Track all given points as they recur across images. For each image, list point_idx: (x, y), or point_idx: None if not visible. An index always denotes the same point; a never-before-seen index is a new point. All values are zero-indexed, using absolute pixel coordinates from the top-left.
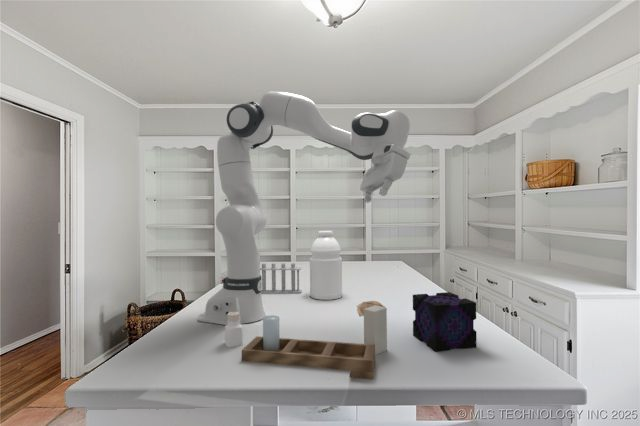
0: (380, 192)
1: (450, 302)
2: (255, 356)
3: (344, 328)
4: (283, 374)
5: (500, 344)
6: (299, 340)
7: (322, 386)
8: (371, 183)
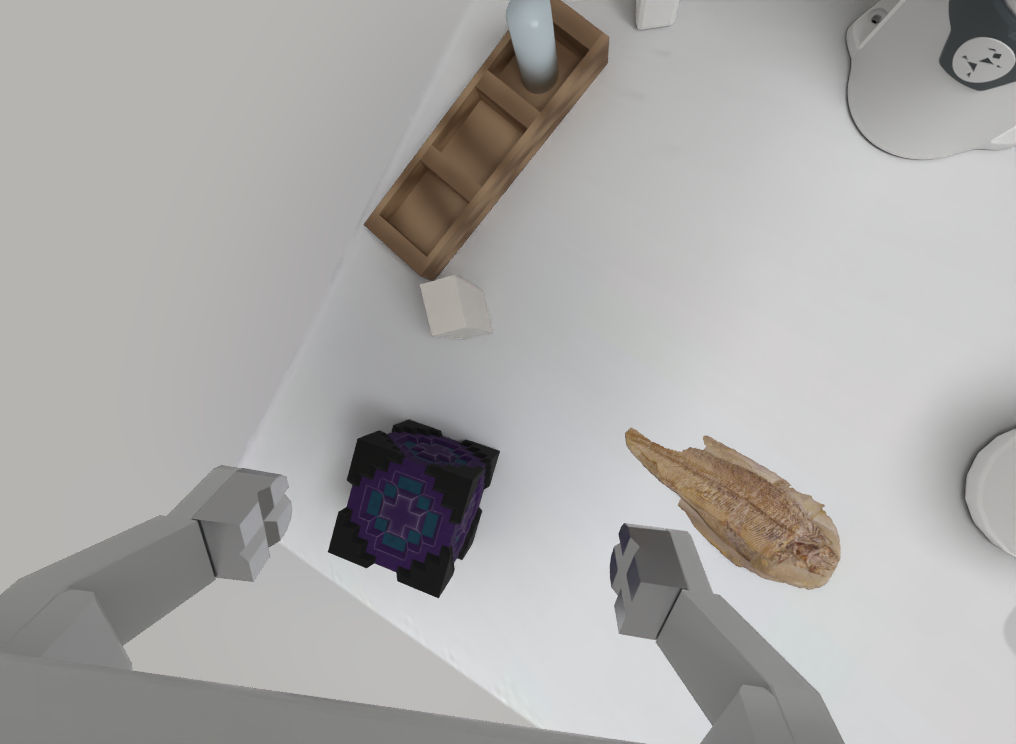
0: (243, 471)
1: (387, 524)
2: None
3: (635, 333)
4: None
5: None
6: (526, 131)
7: (401, 141)
8: (518, 728)
